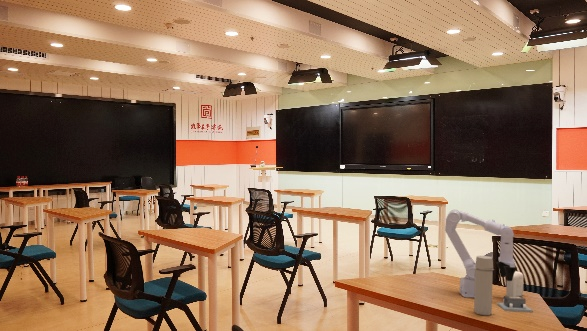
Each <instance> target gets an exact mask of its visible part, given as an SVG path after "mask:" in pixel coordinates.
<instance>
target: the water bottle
mask: <svg viewBox="0 0 587 331" xmlns="http://www.w3.org/2000/svg"><path fill="white" fill-rule="evenodd" d="M493 259H494V258H493V257H492V256H488V255H487V256H486V255H477V256H476V258H475V263H476V265H475V267H476V269H475V295H474V297H473V298H474V299H473V300H474V303H473V307H474V308H473V311H474V313H475V314H477V315H480V316H484V317H485V316H490V315H492V311H493V310H492V308H493V271H495V269H494V260H493Z"/></svg>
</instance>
